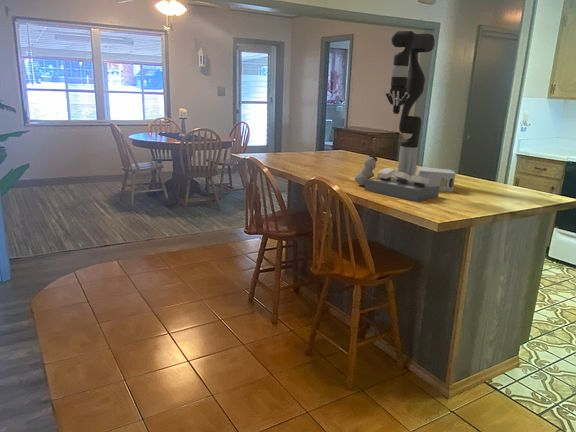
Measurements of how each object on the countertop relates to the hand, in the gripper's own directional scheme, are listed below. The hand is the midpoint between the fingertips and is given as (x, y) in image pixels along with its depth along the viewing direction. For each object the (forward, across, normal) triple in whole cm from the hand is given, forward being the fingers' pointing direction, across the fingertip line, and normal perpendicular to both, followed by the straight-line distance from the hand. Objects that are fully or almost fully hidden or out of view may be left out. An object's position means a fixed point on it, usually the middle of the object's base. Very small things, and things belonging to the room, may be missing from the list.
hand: (396, 113), depth 221 cm
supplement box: (+35, -17, -14) cm, 42 cm away
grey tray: (+35, -15, +12) cm, 40 cm away
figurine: (+35, +6, +12) cm, 38 cm away
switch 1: (+28, -6, +12) cm, 31 cm away
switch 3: (+28, -24, +12) cm, 39 cm away
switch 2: (+28, -15, +12) cm, 34 cm away
